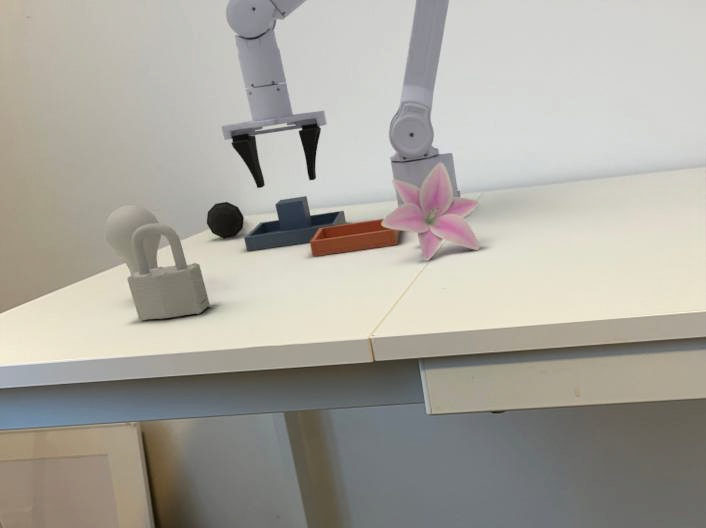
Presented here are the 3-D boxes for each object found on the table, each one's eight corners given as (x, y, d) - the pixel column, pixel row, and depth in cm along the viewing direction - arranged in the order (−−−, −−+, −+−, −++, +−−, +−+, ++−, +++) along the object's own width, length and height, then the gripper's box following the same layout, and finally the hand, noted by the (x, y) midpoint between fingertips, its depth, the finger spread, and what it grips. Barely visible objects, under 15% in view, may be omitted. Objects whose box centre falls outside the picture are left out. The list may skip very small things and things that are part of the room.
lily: (373, 274, 96) (383, 207, 90) (382, 218, 105) (392, 153, 98) (472, 290, 98) (488, 225, 91) (473, 233, 106) (488, 170, 100)
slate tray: (346, 223, 126) (343, 210, 125) (338, 238, 115) (335, 224, 115) (262, 235, 126) (260, 222, 125) (247, 251, 116) (243, 237, 115)
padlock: (136, 323, 87) (109, 231, 83) (152, 311, 90) (126, 223, 87) (199, 315, 86) (174, 223, 82) (212, 304, 90) (189, 215, 86)
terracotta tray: (399, 230, 114) (397, 216, 114) (396, 244, 106) (394, 229, 105) (322, 241, 115) (319, 227, 114) (312, 256, 106) (309, 241, 105)
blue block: (313, 228, 122) (306, 196, 121) (309, 234, 119) (302, 200, 117) (287, 232, 122) (280, 199, 121) (282, 238, 119) (275, 204, 117)
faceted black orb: (230, 237, 145) (217, 245, 125) (213, 209, 143) (197, 212, 124) (257, 223, 145) (248, 229, 126) (241, 194, 144) (229, 195, 124)
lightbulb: (134, 293, 100) (108, 205, 96) (183, 285, 100) (159, 197, 97) (118, 307, 95) (90, 214, 91) (170, 299, 95) (144, 206, 91)
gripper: (207, 94, 110) (231, 194, 114) (312, 79, 109) (332, 179, 114) (220, 92, 116) (242, 186, 121) (319, 77, 116) (338, 173, 121)
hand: (286, 183), depth 118 cm, fingers open, 7 cm apart
